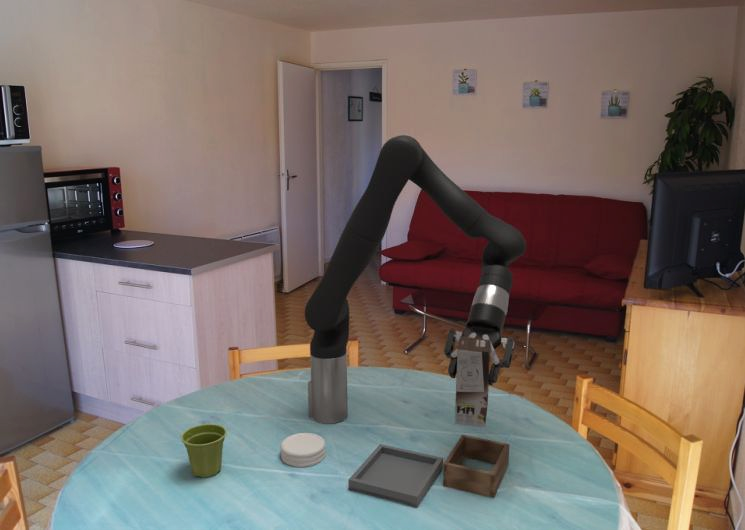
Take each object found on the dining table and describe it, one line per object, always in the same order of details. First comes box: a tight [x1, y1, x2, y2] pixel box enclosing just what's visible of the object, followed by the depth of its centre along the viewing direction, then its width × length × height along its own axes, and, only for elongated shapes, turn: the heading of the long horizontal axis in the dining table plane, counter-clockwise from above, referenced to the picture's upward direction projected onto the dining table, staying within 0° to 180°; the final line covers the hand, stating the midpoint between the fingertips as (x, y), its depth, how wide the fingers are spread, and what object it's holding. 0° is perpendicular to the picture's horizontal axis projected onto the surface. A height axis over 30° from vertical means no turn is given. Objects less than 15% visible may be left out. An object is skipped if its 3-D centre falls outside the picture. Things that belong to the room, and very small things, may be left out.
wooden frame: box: [442, 434, 510, 499], centre depth 129 cm, size 11×14×5 cm
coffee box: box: [454, 336, 491, 428], centre depth 125 cm, size 9×6×16 cm
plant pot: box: [180, 423, 227, 479], centre depth 131 cm, size 9×9×9 cm
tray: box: [348, 443, 444, 508], centre depth 129 cm, size 15×16×2 cm
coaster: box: [280, 432, 326, 468], centre depth 138 cm, size 10×10×4 cm
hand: (470, 380), depth 124 cm, fingers closed on coffee box, 7 cm apart
